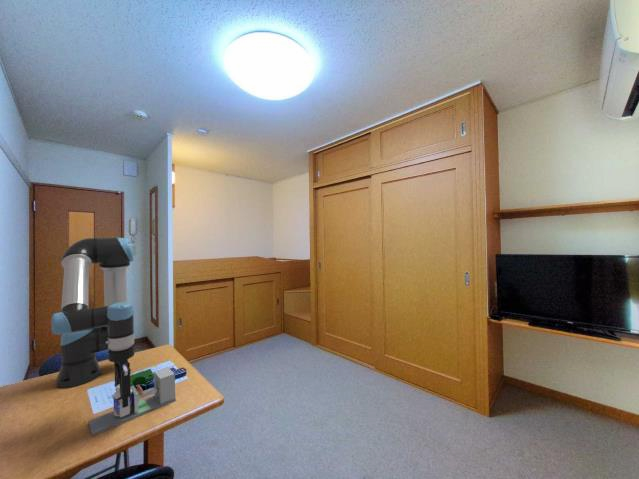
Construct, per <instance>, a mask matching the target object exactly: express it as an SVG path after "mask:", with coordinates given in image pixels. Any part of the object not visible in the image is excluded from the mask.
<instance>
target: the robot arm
mask: <svg viewBox="0 0 639 479" xmlns="http://www.w3.org/2000/svg"><path fill="white" fill-rule="evenodd" d="M131 262H134V252H133V248H132V244H131V240H130V239H129V238H127V237H95V238H94V237H88V238H83V239H80V240H77V241H76V242H74V243H73V244H71V245H70V246H69V247H67V249H66V250H65V251H64V252H63V254H62V256H61V263H60V264H61V266H62V268H63V278H62V279H63V280H62V281H63V282H62V293H61V305H60V306H61V307H60V311H59V312H55V313H53V314H52V316H51V323H50V324H51V333H52V334H53V335H56V336H57V335H59V336H60V335H61V337H60V344H59V346H60V354H61V355H60V357H61V359H60V363H61V367H60V369H59V372H58V374H57V377H56V379H55V380H56V381H55V383H56V384H55V385H56V387H57V388H59V389H60V388H61V389H63V388H73V387H77V386H81V385H84V384H86V383H89V382H93V381H94V380H95V379H97V378H98V377H99V376H100V375H101V373H102V372H101V371H102V368H101V366H100V364H99V362H98V360H97V358H96V354H97V353H100V352H105V351H107V355H108V356H107V358H108V362H110V363H113V367H114V387H115V388H116V386H117V385H119V384H120V398H118V400H120V417H123V416H125V415H128V414H130V400H129V397H130V396H131V385H130V375H131V370H132V369H131V368H130V367H131V365H130V364H131V363H130V362H129V359H132V358H133V357H134V355H135V345H134V344H135V321H134V314H135V311H134V305H133V302H128V301H127V268H129V267H130V265H131ZM92 264H98V267H99V268H100V269H101V270H102V271H103V298H104V299H103V302H104V303H103V304H104V306H99V307H91V308H90V306H89V301H90V300H89V297H90V296H89V295H90V294H89V291H90V289H89V287H90V286H89V282H90V280H89V279H90V278H89V272H90V270H89V269H90V267H91V266H92Z"/></svg>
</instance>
